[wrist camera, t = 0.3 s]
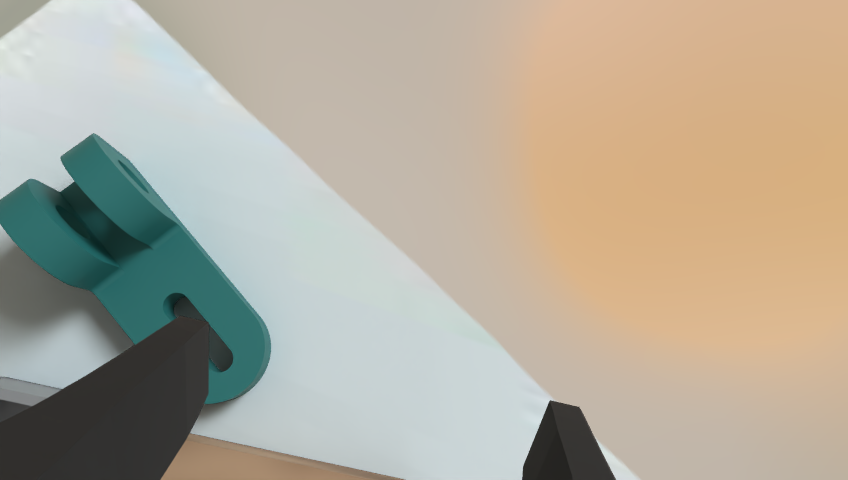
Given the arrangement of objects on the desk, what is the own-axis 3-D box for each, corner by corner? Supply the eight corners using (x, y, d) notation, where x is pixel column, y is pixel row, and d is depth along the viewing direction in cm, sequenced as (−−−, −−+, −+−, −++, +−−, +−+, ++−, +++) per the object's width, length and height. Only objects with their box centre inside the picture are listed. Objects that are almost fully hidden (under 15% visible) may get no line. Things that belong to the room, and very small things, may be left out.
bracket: (49, 221, 41) (-28, 189, 33) (131, 161, 42) (74, 116, 35) (211, 423, 39) (168, 437, 31) (291, 354, 40) (270, 351, 33)
